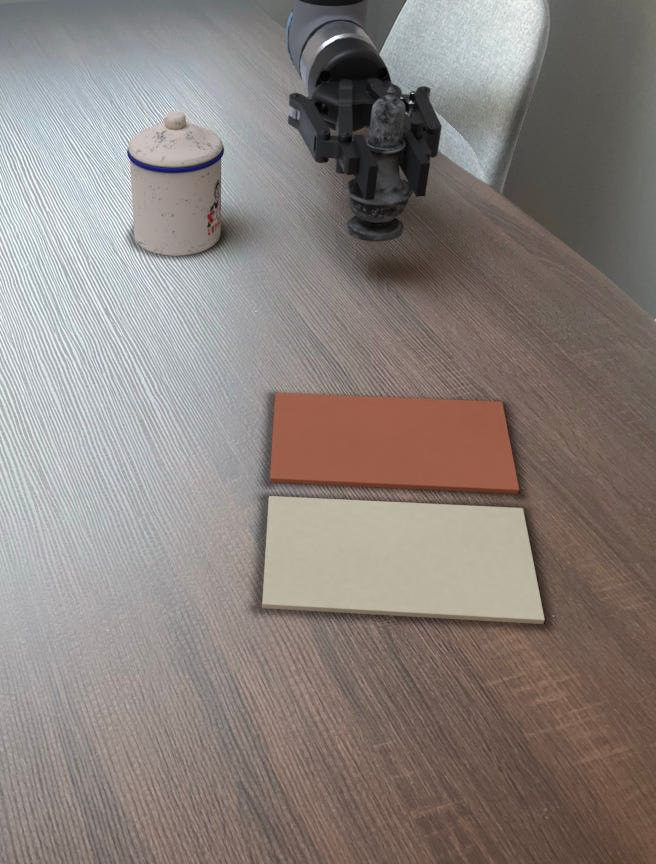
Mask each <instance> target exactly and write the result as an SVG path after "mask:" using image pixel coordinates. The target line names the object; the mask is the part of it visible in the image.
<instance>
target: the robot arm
mask: <svg viewBox="0 0 656 864" xmlns="http://www.w3.org/2000/svg"><path fill="white" fill-rule="evenodd" d="M368 7H369V0H293V6H292V10H291V11H290V14H289V15H288V19H287V21H286V29H285V39H286V49H287V52H288V54H289V58H290V61H291V62H292V65H293V66H294V68H295V69H296V71H297V74H298V76H299V78H300V80H301V82H302V84H303V86H304V89H305V91H306V94H307V96H305V95H303V94H302V93H299V92H292V93H290V94H289V96H288V100H289V101H288V112H287V115H288V117H287V124H288V125H290V127H293V128H294V129H296V130H297V131H298V132H299V134H300V136H301V138H302V140H303V141H304V143H305V146H306V147H307V149H308V151H309V153H310V155H311V156H312V158H313V160H314V161H315V162H316V163H318V164H325V163H328V162H329V159H334V160H335V173H337V174H339V175H340V174H341V175H347V176H354V178H356V180H357V182H358V185H359V187H360V189H361V191H362V193H363V196H364V198H365V200H370V199H374V197H375V189H376V180H377V172H378V165H377V163H376V161H375V159H374V157H373V155H372V153H371V151H370V149H369V147H368V145H367V143H366V141H365V140H366V138H365V136H364V134H363V133H361V134H354V132H358V131H360V130H363V129H369V130H370V121H371V112H372V107H373V104H374V103H375V102H376V101H377V100H378V99H380V98H382V97H385V96H386V95H388V92H387V90H388V89H389V87H390V86H393V88H394V90H395V92H394V93H393V95H394V96H396V97H397V98H399V99H401V100H402V101H403V102H404V104H405V108H406V112H405V119H404V127H403V135H402V140H404V141H405V143H406V147H405V148H404V149H403V150H402V151H401V157H400V164H399V168H400V169H401V171H402V173H403V175H404V176H405V180H406V181H407V182H408V183H409V184H410V186H411V188H412V190H413V194H414V195H415V197H417V198H420V197H426V192H427V185H428V179H429V172H430V166H431V158H436V157H437V156H438V151H439V146H440V139H441V134H442V128H443V126H442V123H441V122H440V119H439V118H438V115H437V114H436V113H437V112H436V111H435V109H434V107H433V105H432V103H431V100H430V96H431V88H430V87H429V86H425V85H424V86H418V87H417V89H416V90H411V91H410V92H409V93H403V91H402V89H401V87H399V85H397V84H394V83H392V80H391V75H390V72H389V69H388V67H387V64H386V63H385V61H384V60H383V58H382V56H381V55H380V53H379V50H378V49H377V47H376V45H375V44H374V42H373V41H372V39H371V37H370V36H369V35H368V33H367V31H366V27H367V18H368ZM331 130H332V131H335V135H331V134H332V131H331Z"/></svg>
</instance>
